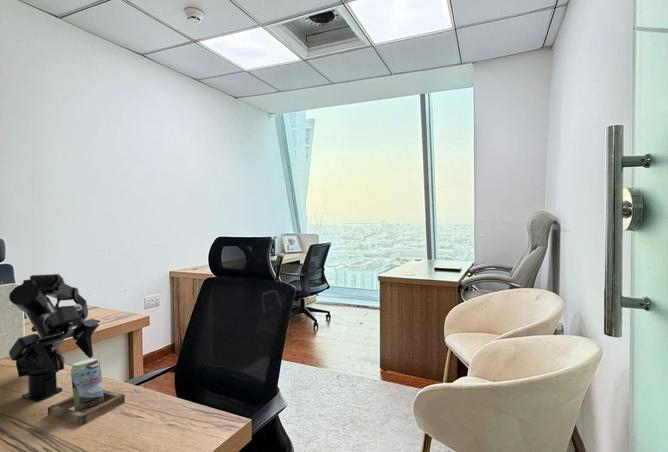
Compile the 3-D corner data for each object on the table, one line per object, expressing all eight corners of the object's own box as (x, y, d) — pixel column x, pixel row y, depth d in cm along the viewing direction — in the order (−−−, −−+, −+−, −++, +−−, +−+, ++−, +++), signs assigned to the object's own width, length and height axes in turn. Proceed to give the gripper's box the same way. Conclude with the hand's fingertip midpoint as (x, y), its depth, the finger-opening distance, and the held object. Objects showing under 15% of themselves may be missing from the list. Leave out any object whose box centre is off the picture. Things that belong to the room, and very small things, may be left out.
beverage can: (89, 416, 84) (88, 367, 84) (63, 413, 85) (63, 364, 85) (110, 403, 90) (110, 357, 90) (86, 400, 92) (86, 354, 91)
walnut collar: (47, 415, 84) (47, 407, 84) (92, 394, 95) (92, 387, 95) (81, 425, 80) (81, 416, 80) (124, 402, 90) (124, 394, 90)
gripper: (16, 304, 82) (48, 357, 78) (94, 290, 100) (123, 332, 96) (-5, 334, 85) (25, 386, 81) (75, 315, 102) (102, 357, 99)
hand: (73, 363), depth 89 cm, fingers open, 9 cm apart
